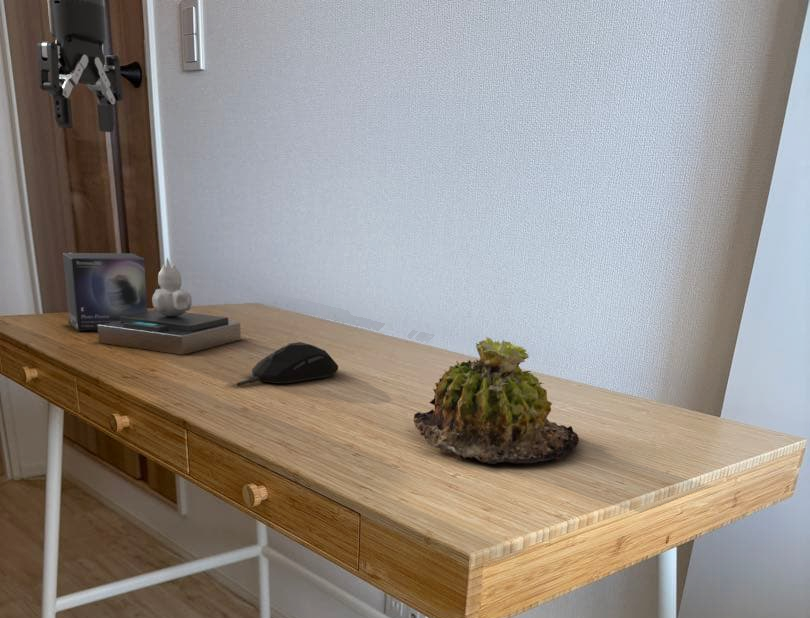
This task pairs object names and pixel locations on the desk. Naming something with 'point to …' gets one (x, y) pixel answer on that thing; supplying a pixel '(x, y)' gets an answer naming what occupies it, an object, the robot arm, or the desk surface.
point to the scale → (166, 336)
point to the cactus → (494, 411)
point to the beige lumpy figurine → (171, 293)
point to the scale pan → (177, 320)
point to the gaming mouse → (293, 365)
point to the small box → (103, 287)
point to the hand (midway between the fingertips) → (86, 129)
